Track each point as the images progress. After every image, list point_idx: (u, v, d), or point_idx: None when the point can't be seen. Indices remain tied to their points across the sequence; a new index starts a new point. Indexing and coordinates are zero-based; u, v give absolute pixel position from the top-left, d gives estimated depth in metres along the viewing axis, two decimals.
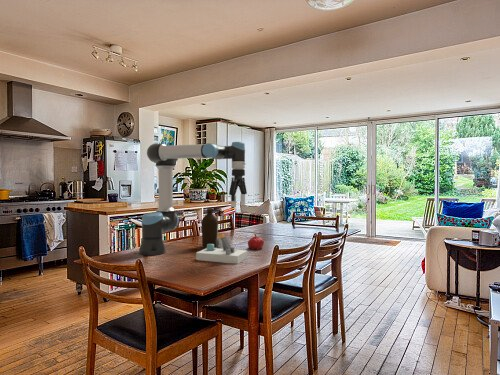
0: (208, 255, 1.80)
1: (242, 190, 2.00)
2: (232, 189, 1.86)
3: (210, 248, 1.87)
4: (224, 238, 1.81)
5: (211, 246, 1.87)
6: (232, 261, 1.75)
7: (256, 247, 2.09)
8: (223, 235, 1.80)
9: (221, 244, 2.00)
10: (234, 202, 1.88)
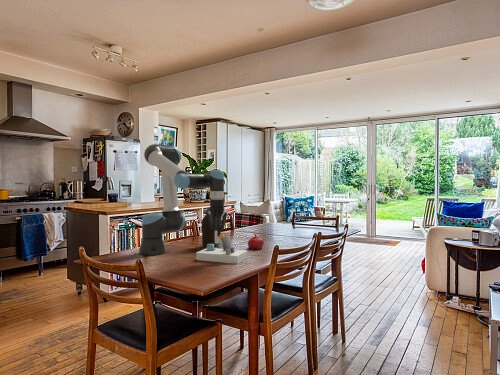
0: (208, 255, 1.80)
1: None
2: None
3: (210, 248, 1.87)
4: (224, 238, 1.81)
5: (211, 246, 1.87)
6: (232, 261, 1.75)
7: (256, 247, 2.09)
8: (223, 235, 1.80)
9: (221, 244, 2.00)
10: None
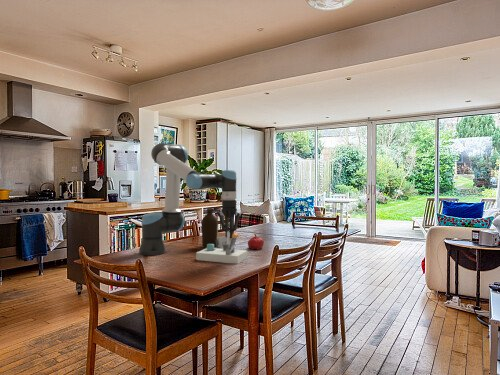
0: (208, 255, 1.80)
1: None
2: None
3: (210, 248, 1.87)
4: (235, 238, 1.78)
5: (211, 246, 1.87)
6: (232, 261, 1.75)
7: (256, 247, 2.09)
8: (236, 236, 1.78)
9: (221, 244, 2.00)
10: None
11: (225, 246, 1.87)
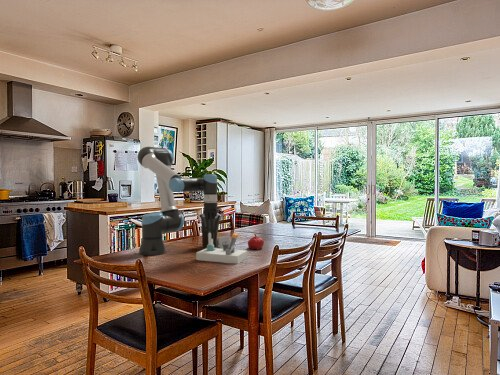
0: (208, 255, 1.80)
1: None
2: None
3: (210, 248, 1.87)
4: (235, 238, 1.78)
5: (211, 246, 1.87)
6: (232, 261, 1.75)
7: (256, 247, 2.09)
8: (236, 236, 1.78)
9: (221, 244, 2.00)
10: None
11: (225, 246, 1.87)
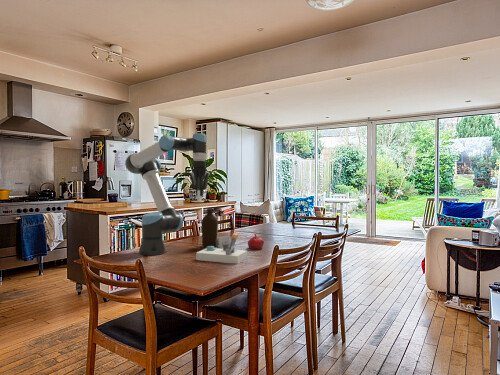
0: (208, 255, 1.80)
1: None
2: None
3: (210, 250, 1.87)
4: (235, 238, 1.78)
5: (211, 248, 1.87)
6: (232, 261, 1.75)
7: (256, 247, 2.09)
8: (236, 236, 1.78)
9: (221, 244, 2.00)
10: None
11: (225, 246, 1.87)
